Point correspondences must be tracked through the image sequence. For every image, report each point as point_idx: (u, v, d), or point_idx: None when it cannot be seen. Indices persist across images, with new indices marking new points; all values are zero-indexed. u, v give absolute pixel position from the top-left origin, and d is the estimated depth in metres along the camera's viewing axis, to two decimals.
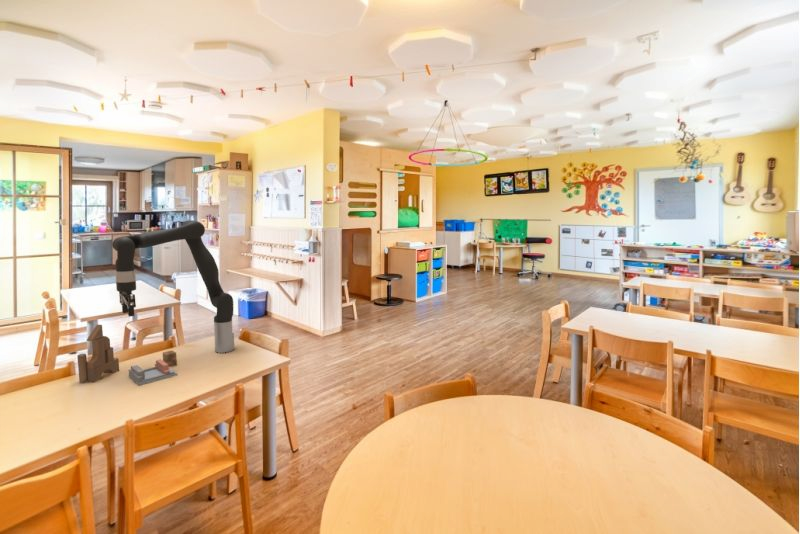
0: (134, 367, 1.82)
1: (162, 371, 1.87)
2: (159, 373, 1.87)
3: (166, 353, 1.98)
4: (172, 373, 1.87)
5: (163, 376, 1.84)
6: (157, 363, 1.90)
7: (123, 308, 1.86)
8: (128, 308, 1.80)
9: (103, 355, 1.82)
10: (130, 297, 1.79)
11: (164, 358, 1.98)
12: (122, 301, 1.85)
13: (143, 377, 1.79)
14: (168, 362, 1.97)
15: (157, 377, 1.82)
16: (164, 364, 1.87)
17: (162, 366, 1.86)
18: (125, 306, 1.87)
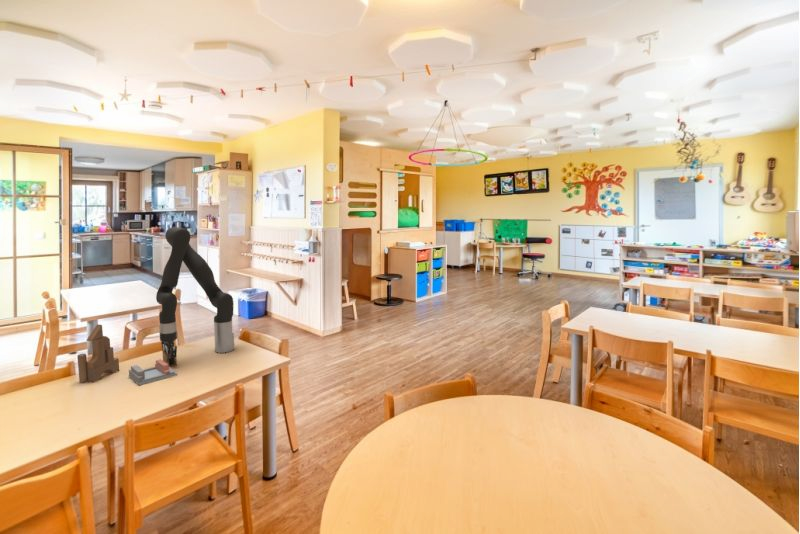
0: (134, 367, 1.82)
1: (162, 371, 1.87)
2: (159, 373, 1.87)
3: (166, 353, 1.98)
4: (172, 373, 1.87)
5: (163, 376, 1.84)
6: (157, 363, 1.90)
7: None
8: (169, 358, 1.97)
9: (103, 355, 1.82)
10: (172, 349, 1.94)
11: (164, 358, 1.98)
12: (165, 350, 2.00)
13: (143, 377, 1.79)
14: (168, 362, 1.97)
15: (157, 377, 1.82)
16: (164, 364, 1.87)
17: (162, 366, 1.86)
18: None
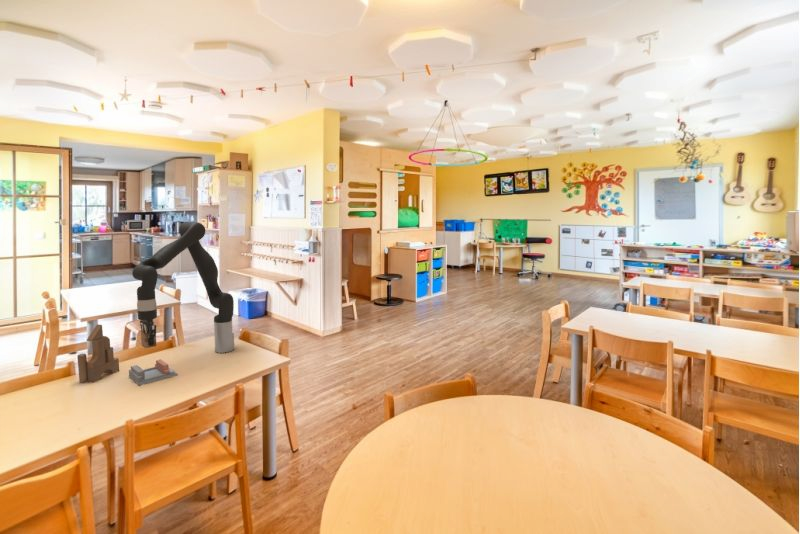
0: (134, 367, 1.82)
1: (162, 371, 1.87)
2: (159, 373, 1.87)
3: (145, 333, 1.82)
4: (172, 373, 1.87)
5: (163, 376, 1.84)
6: (157, 363, 1.90)
7: None
8: (148, 338, 1.80)
9: (103, 355, 1.82)
10: (151, 328, 1.78)
11: (142, 338, 1.82)
12: (143, 330, 1.83)
13: (143, 377, 1.79)
14: (147, 342, 1.81)
15: (157, 377, 1.82)
16: (164, 364, 1.87)
17: (162, 366, 1.86)
18: None
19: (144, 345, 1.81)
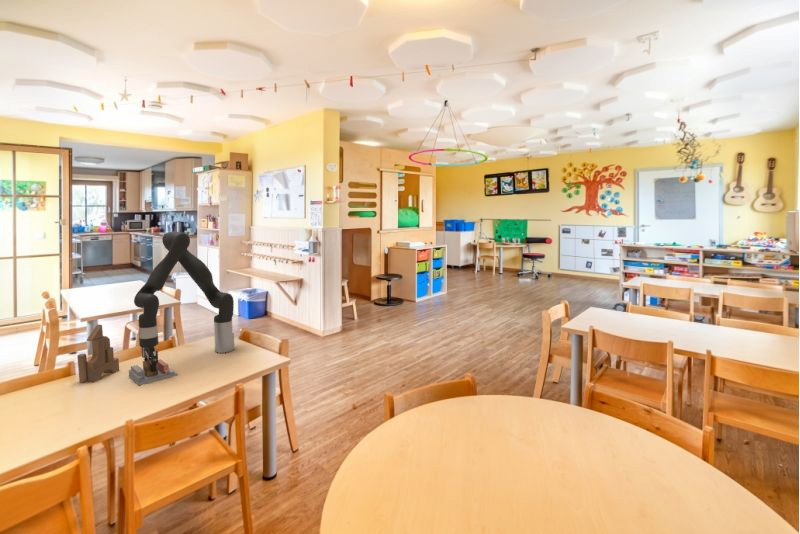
0: (134, 367, 1.82)
1: (162, 371, 1.87)
2: (159, 373, 1.87)
3: (146, 362, 1.84)
4: (172, 373, 1.87)
5: (163, 376, 1.84)
6: None
7: None
8: (150, 364, 1.81)
9: (103, 355, 1.82)
10: (153, 354, 1.79)
11: (144, 367, 1.84)
12: (145, 356, 1.85)
13: (143, 377, 1.79)
14: (148, 372, 1.83)
15: (157, 377, 1.82)
16: (164, 364, 1.87)
17: (162, 366, 1.86)
18: None
19: (146, 374, 1.83)
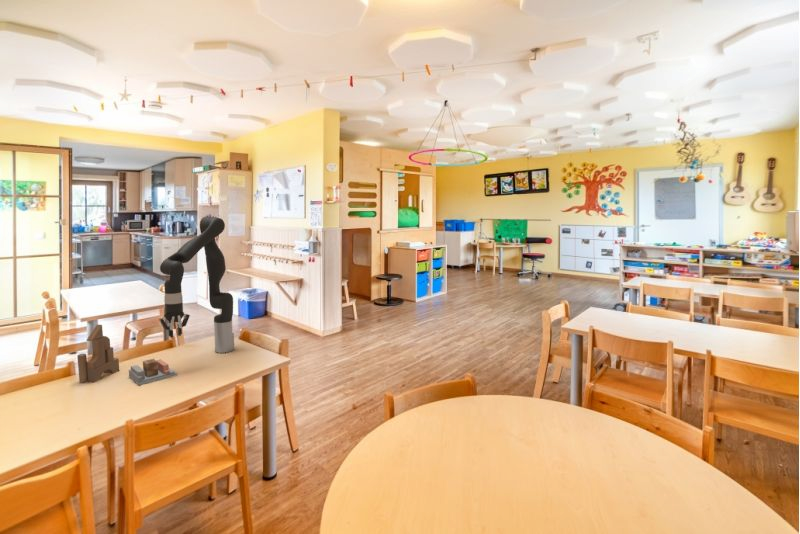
0: (134, 367, 1.82)
1: (162, 371, 1.87)
2: (159, 373, 1.87)
3: (146, 362, 1.84)
4: (172, 373, 1.87)
5: (163, 376, 1.84)
6: None
7: (177, 330, 1.94)
8: None
9: (103, 355, 1.82)
10: None
11: (144, 367, 1.84)
12: (176, 322, 1.93)
13: (143, 377, 1.79)
14: (148, 372, 1.83)
15: (157, 377, 1.82)
16: (164, 364, 1.87)
17: (162, 366, 1.86)
18: (178, 329, 1.93)
19: (146, 374, 1.83)
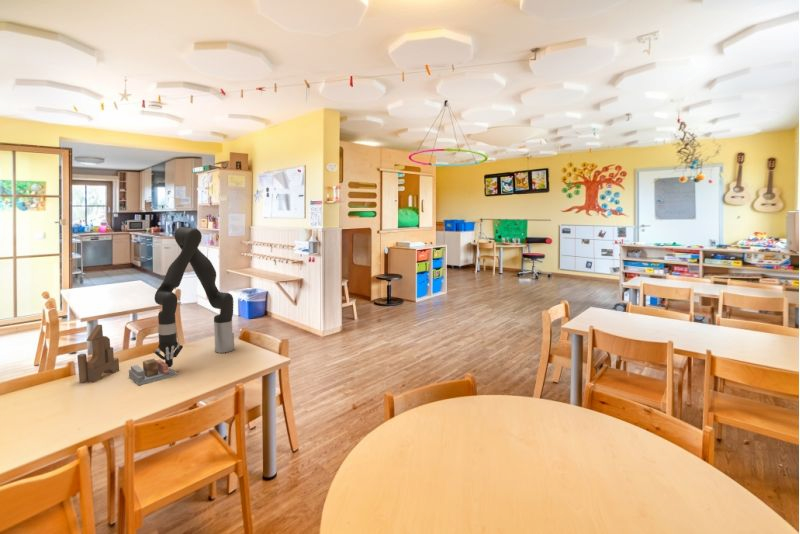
0: (134, 367, 1.82)
1: (161, 371, 1.87)
2: (159, 373, 1.87)
3: (146, 362, 1.84)
4: (172, 373, 1.87)
5: (163, 376, 1.84)
6: None
7: None
8: None
9: (103, 355, 1.82)
10: None
11: (144, 367, 1.84)
12: None
13: (143, 377, 1.79)
14: (148, 372, 1.83)
15: (157, 377, 1.82)
16: (163, 364, 1.86)
17: (161, 366, 1.86)
18: None
19: (146, 374, 1.83)
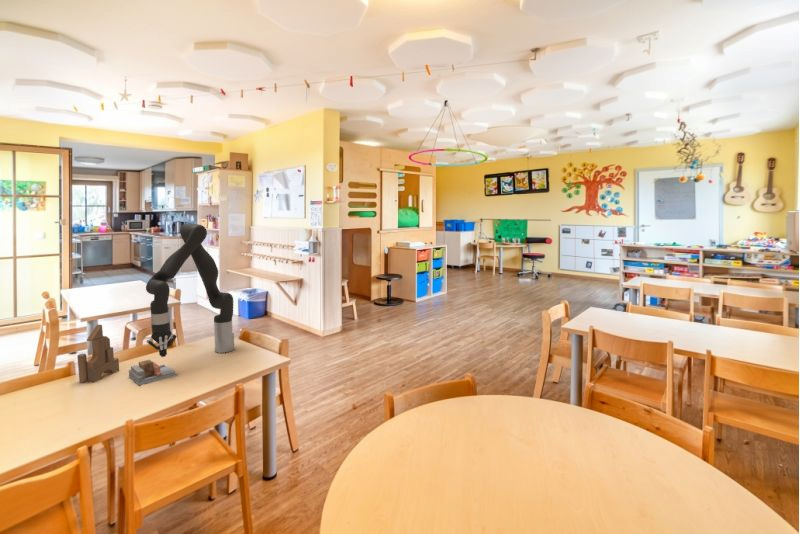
0: (134, 367, 1.82)
1: (154, 373, 1.84)
2: None
3: (142, 363, 1.82)
4: (172, 373, 1.87)
5: (163, 376, 1.84)
6: None
7: None
8: None
9: (103, 355, 1.82)
10: (148, 343, 1.84)
11: None
12: (162, 342, 1.90)
13: (143, 377, 1.79)
14: None
15: (157, 377, 1.82)
16: (156, 366, 1.84)
17: (154, 368, 1.84)
18: None
19: None
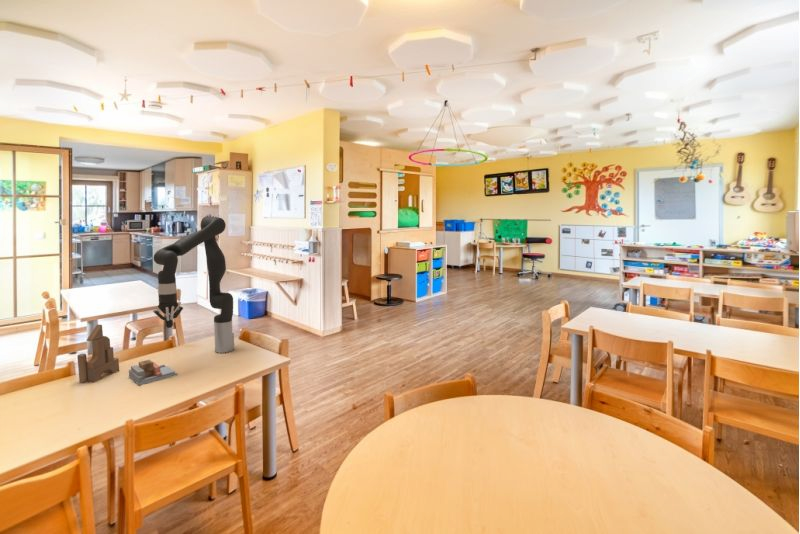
0: (134, 367, 1.82)
1: (154, 373, 1.84)
2: None
3: (142, 363, 1.82)
4: (172, 373, 1.87)
5: (163, 376, 1.84)
6: None
7: None
8: None
9: (103, 355, 1.82)
10: None
11: None
12: None
13: (143, 377, 1.79)
14: None
15: (157, 377, 1.82)
16: (156, 366, 1.84)
17: (154, 368, 1.84)
18: None
19: None
